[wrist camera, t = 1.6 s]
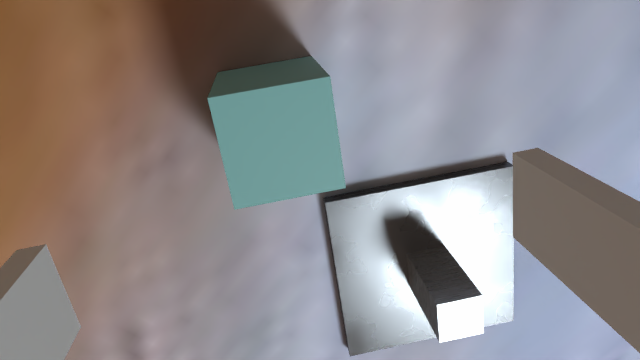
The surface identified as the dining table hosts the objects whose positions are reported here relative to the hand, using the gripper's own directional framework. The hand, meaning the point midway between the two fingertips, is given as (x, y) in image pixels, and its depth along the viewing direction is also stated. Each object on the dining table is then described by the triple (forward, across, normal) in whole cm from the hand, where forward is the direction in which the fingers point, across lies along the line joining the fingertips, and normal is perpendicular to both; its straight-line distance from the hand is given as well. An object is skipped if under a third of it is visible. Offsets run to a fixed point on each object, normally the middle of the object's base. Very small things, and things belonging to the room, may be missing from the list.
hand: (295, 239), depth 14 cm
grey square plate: (+15, +8, -12) cm, 21 cm away
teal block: (+15, 0, 0) cm, 15 cm away
